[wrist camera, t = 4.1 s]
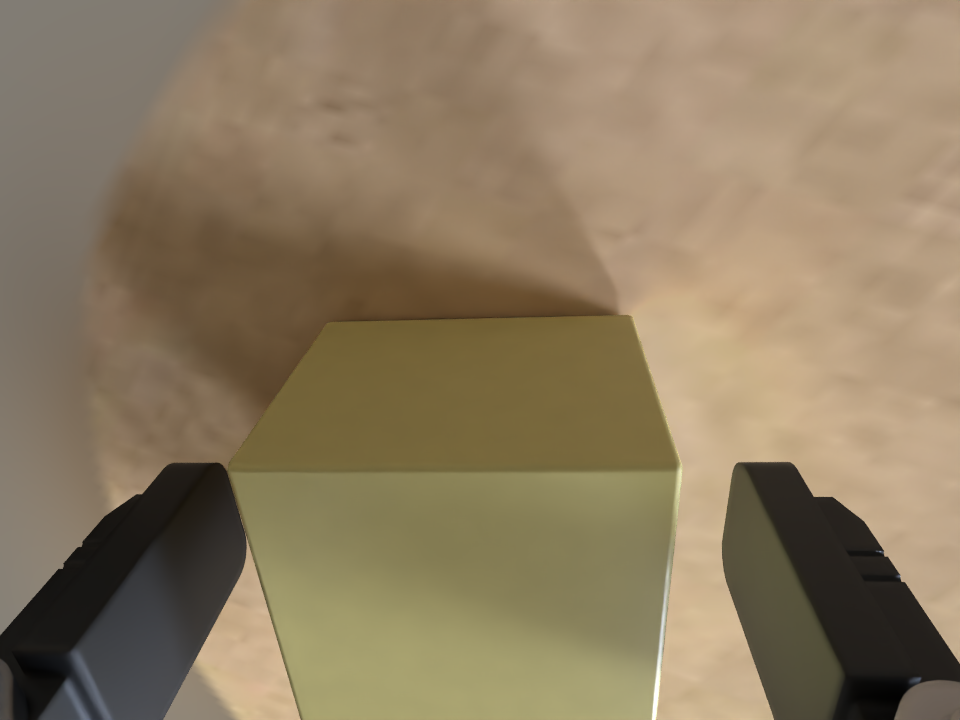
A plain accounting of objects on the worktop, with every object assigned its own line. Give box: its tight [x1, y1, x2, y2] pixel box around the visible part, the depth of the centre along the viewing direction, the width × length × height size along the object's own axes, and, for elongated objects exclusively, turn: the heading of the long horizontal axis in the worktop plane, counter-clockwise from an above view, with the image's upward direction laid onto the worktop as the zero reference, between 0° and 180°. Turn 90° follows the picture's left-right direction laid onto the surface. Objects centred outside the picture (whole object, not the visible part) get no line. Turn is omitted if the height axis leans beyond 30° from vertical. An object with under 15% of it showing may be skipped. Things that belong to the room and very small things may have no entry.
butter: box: [228, 315, 683, 720], centre depth 10 cm, size 5×5×4 cm
